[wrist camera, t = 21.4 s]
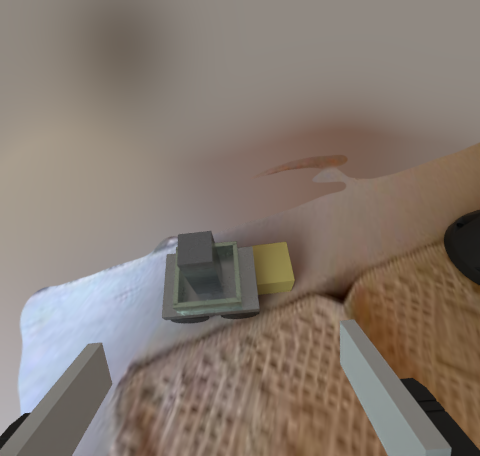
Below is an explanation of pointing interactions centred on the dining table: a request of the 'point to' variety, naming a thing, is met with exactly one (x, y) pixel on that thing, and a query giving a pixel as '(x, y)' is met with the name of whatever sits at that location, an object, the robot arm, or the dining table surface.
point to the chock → (273, 268)
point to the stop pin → (200, 262)
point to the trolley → (219, 303)
